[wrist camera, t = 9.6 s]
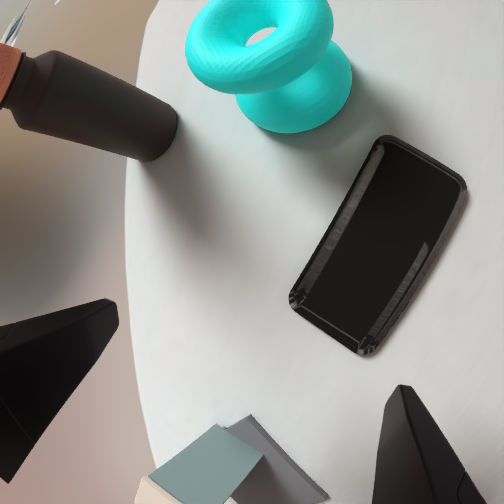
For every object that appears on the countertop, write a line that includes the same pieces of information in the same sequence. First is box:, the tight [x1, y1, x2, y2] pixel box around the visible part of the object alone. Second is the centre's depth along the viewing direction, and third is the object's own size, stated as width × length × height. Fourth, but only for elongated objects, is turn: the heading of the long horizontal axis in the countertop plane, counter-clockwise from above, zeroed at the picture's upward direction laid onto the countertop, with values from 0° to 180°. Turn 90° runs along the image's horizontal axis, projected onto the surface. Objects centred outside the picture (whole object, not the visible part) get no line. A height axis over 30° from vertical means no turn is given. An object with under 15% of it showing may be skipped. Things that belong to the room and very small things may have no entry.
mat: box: [225, 414, 328, 504], centre depth 24 cm, size 12×10×1 cm
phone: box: [289, 135, 467, 355], centre depth 20 cm, size 8×1×15 cm
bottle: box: [0, 43, 177, 161], centre depth 20 cm, size 7×7×20 cm
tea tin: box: [134, 424, 263, 504], centre depth 20 cm, size 6×6×10 cm
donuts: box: [185, 0, 352, 133], centre depth 18 cm, size 10×10×10 cm
